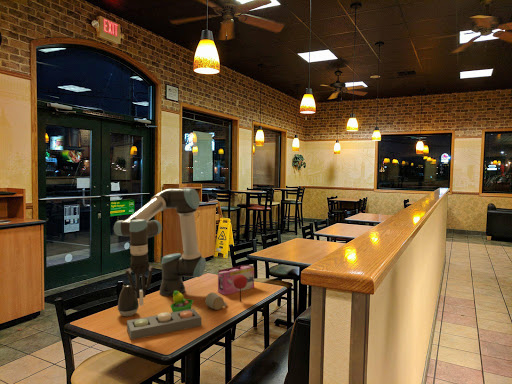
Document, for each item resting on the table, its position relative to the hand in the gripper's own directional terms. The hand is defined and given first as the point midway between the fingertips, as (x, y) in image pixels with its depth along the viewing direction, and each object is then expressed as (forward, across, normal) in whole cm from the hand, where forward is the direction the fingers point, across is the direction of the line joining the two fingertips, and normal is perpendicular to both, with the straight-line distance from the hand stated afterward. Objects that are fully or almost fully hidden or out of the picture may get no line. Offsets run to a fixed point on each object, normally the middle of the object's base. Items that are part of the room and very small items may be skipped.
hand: (141, 304), depth 167 cm
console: (+13, +10, 0) cm, 16 cm away
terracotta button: (+11, +21, 0) cm, 23 cm away
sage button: (+10, 0, 0) cm, 10 cm away
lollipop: (+14, +56, +15) cm, 60 cm away
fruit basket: (+13, +22, +15) cm, 30 cm away
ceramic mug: (+14, +41, +12) cm, 45 cm away
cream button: (+9, +10, 0) cm, 14 cm away
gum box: (+14, +62, +35) cm, 73 cm away
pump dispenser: (+13, -3, +25) cm, 28 cm away
